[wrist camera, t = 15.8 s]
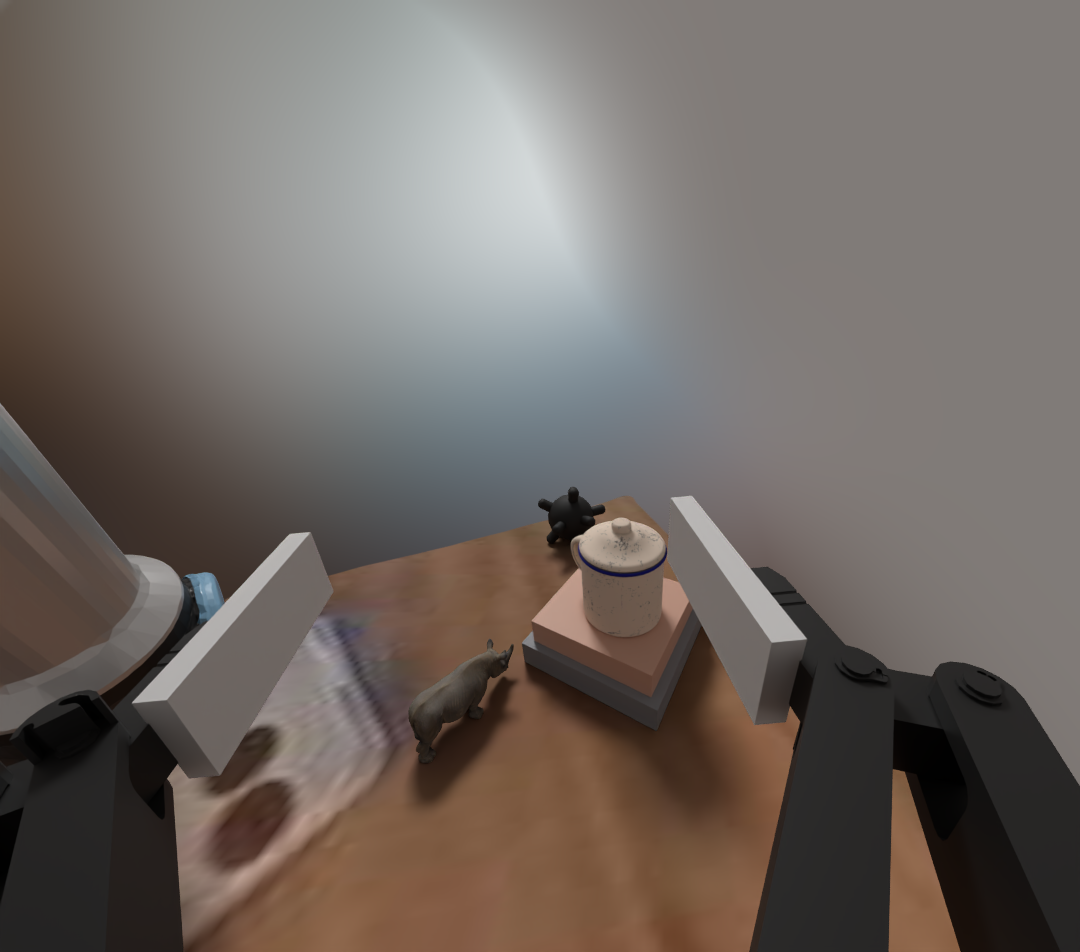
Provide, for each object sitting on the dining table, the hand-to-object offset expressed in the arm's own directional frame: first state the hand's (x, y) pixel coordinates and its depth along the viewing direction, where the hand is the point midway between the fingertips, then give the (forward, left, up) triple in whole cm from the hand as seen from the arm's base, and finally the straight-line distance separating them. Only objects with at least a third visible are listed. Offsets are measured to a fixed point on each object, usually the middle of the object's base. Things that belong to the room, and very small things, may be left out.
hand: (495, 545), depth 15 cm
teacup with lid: (-7, +24, -26) cm, 36 cm away
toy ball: (-23, +40, -32) cm, 56 cm away
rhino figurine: (-16, +9, -32) cm, 37 cm away
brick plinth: (-7, +24, -32) cm, 40 cm away
